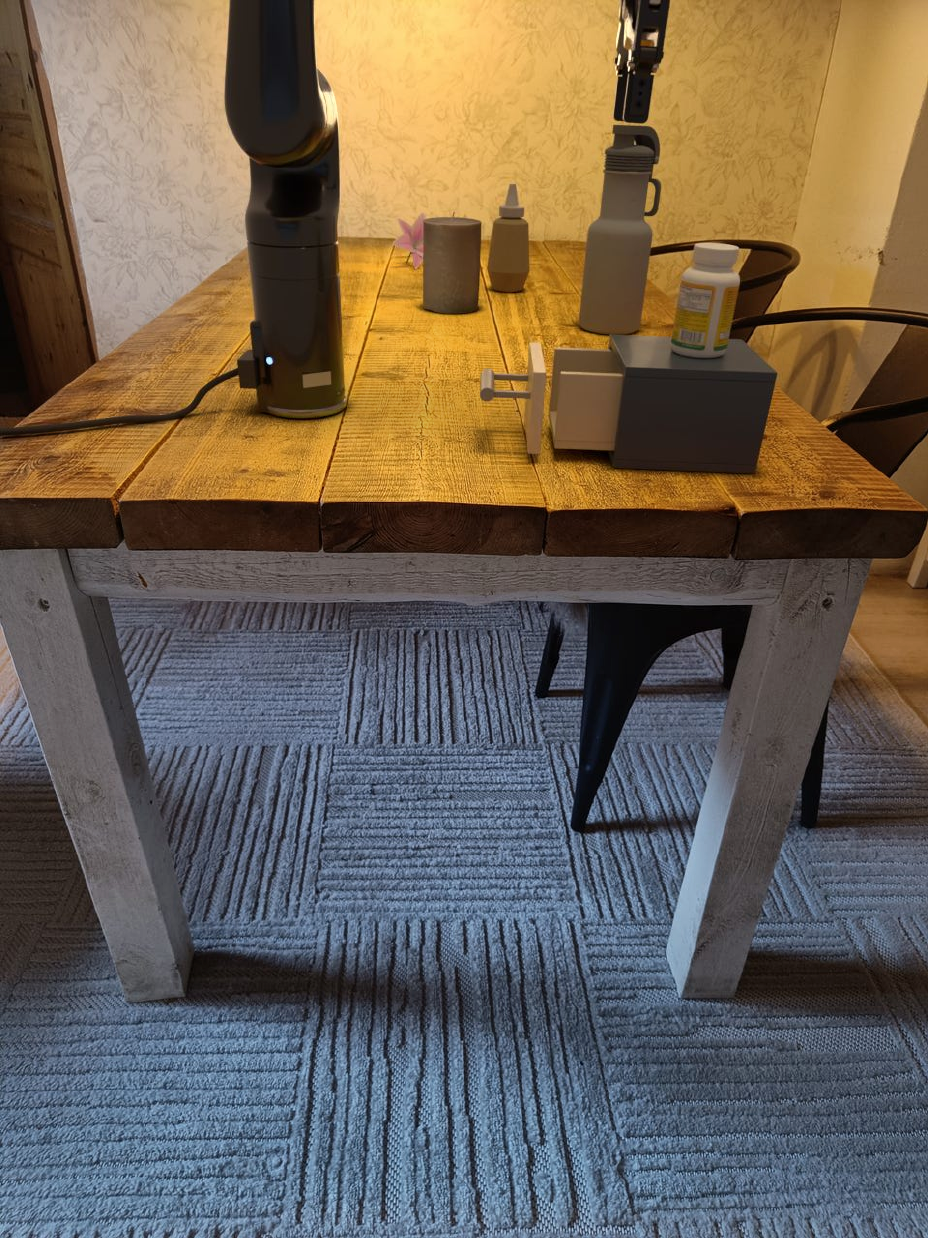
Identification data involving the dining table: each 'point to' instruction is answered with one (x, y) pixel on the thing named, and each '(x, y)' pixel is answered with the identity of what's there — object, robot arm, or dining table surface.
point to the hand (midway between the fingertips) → (628, 121)
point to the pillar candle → (451, 264)
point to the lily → (412, 239)
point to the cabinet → (690, 407)
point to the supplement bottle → (706, 302)
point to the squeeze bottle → (509, 246)
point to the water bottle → (621, 235)
